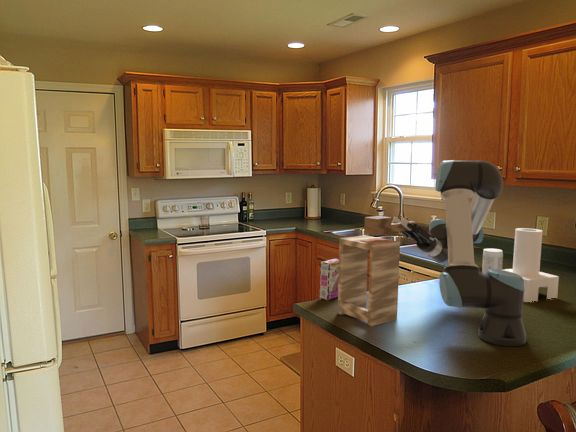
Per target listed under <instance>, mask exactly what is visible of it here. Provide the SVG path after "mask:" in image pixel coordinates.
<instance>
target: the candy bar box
mask: <svg viewBox="0 0 576 432" xmlns="http://www.w3.org/2000/svg"><path fill="white" fill-rule="evenodd" d="M319 276H320V277H319V278H320V279H319V300H323V301H326V302H327V301H330V300H333V299H336V298H338V282H339V258H331V259H328V260H327V259H326V260H322V261H321V262H320V274H319Z"/></svg>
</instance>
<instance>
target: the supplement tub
mask: <svg viewBox="0 0 576 432" xmlns="http://www.w3.org/2000/svg"><path fill="white" fill-rule="evenodd" d="M503 251H504V250H502V249H499V248H488V247H487V248H483V252H482V263H481V264H482V266H481V268H482V270H481V274H487V271H488V270H489V269H499V270H503V261H504V253H503Z"/></svg>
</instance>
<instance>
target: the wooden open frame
mask: <svg viewBox="0 0 576 432" xmlns="http://www.w3.org/2000/svg"><path fill="white" fill-rule="evenodd" d="M373 238H378V237H375V236H372V235H365V234H363V235H357V236H347V237H340V238H339V247H338V248H339V249H338V252H339V253H338V259H339V282H338V297H337V315H341V316H344V315H348V316H350V317H353V318H356V319H358V320H360V321H363V322H366V323H367V326H370V327H375V326H378V325H381V324H385V323H388V322H392V321H396V320H397V319H398V304H399V303H398V302H399V301H398V300H399V298H398V297H399V281H400V279H399V278H400V277H399V276H400V255H401V252H400V251H401V241H399V240H394V241H395V242H390V243H383V244H371V243H366V242H361V241H360V240H366V239H373ZM381 238H382V237H381ZM382 239H384V238H382ZM386 239H387V238H386ZM387 240H389V239H387ZM368 257H369V258H368ZM368 261H369V262H368ZM368 263H369V264H368ZM368 265H369V271H368ZM368 274H369V277H368ZM368 281H369V282H368ZM367 289H368V290H367ZM367 291H368V292H367ZM367 293H368V296H367ZM367 297H368V302H367ZM367 304H368V308H367Z"/></svg>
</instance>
